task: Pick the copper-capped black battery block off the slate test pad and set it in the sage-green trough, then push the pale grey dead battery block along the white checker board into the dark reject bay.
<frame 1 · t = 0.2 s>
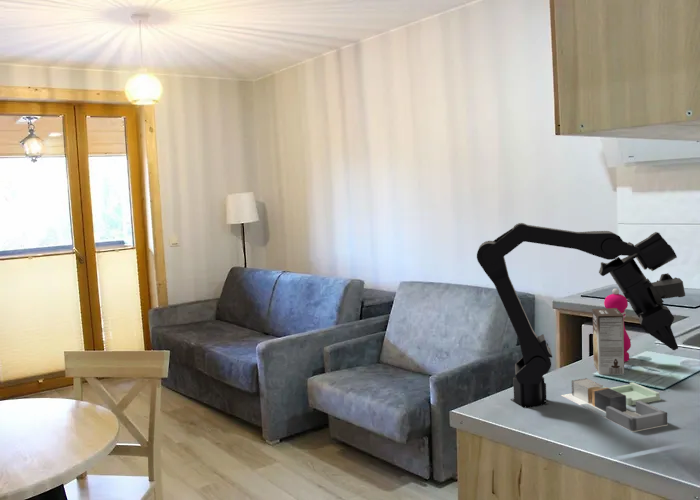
hand: (671, 342, 137), 14 cm above the counter, tool tilted 30°, fingers open, 9 cm apart
coffee box: (608, 372, 165), on the counter
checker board: (610, 411, 138), on the counter
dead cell: (587, 397, 146), point 1 cm above the counter, touching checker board
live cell: (609, 408, 138), point 1 cm above the counter, touching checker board
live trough: (630, 399, 145), on the counter
pepper mill: (616, 359, 176), on the counter
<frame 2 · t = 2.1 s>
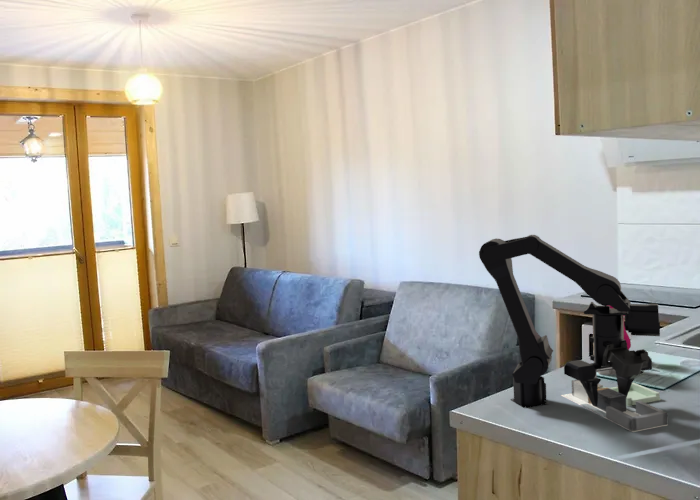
hand: (608, 403, 138), 2 cm above the counter, tool pointing down, fingers open, 7 cm apart
nothing on the counter moved.
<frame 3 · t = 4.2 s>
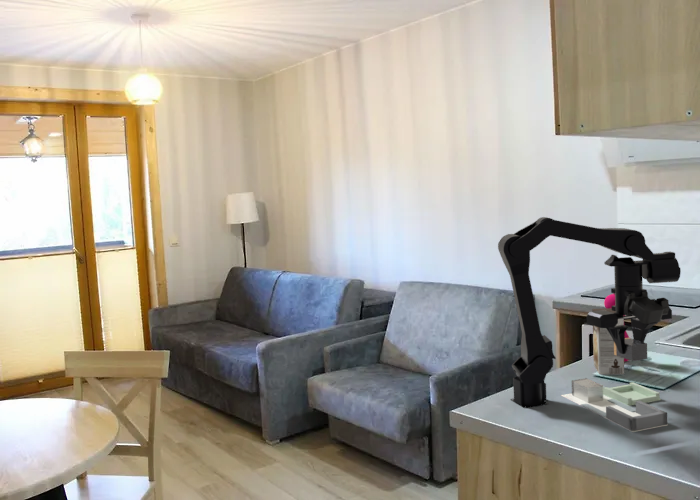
hand: (630, 352, 143), 11 cm above the counter, tool pointing down, fingers closed on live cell, 4 cm apart
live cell: (630, 356, 143), point 10 cm above the counter, touching gripper
everything else where it was.
when the fingers open (3 cm above the counter, at t = 5.9 s): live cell drops 1 cm, resting on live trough.
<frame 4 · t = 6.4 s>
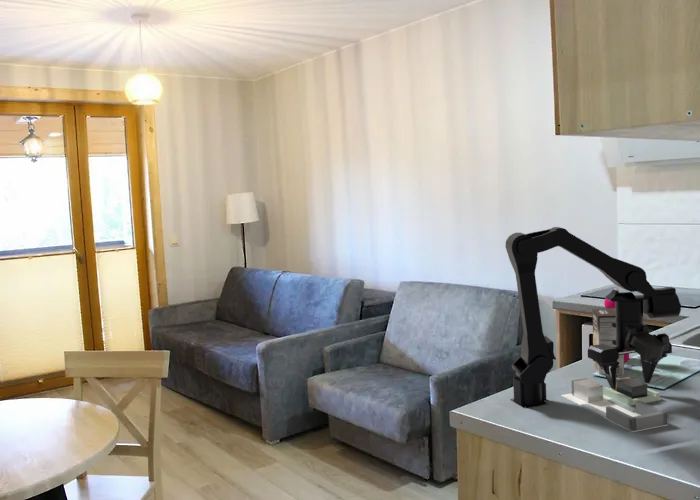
hand: (630, 386, 144), 3 cm above the counter, tool pointing down, fingers open, 9 cm apart
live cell: (630, 396, 145), point 1 cm above the counter, touching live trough
everything else where it was.
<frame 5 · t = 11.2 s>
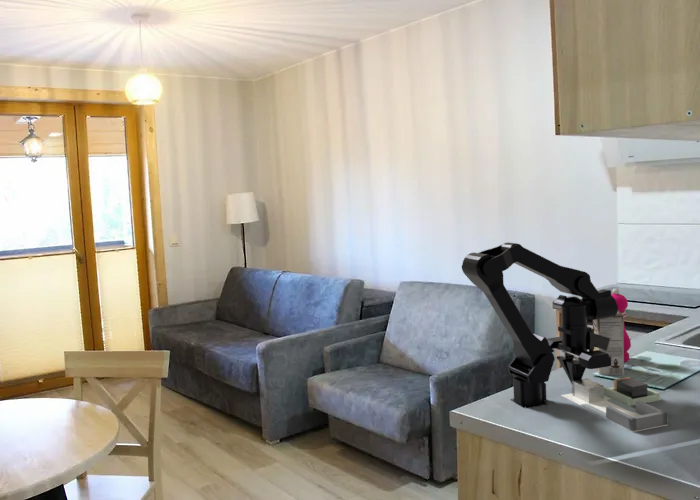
hand: (575, 387, 150), 2 cm above the counter, tool pointing down, fingers closed
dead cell: (588, 398, 145), point 1 cm above the counter, touching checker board, gripper
everything else where it was.
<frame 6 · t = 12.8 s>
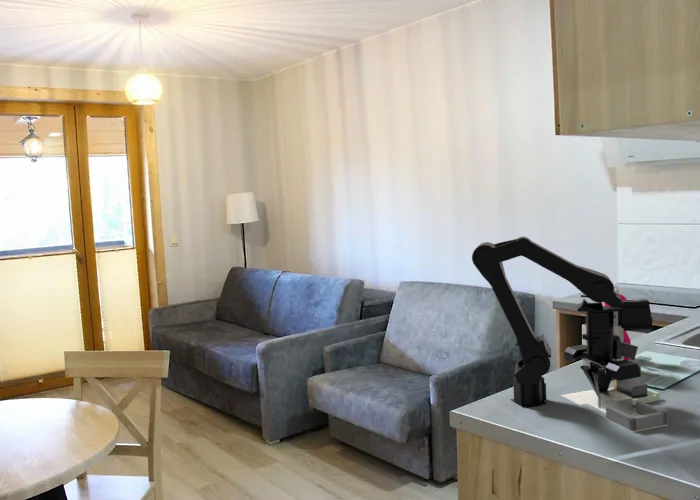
hand: (601, 398, 141), 2 cm above the counter, tool pointing down, fingers closed
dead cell: (615, 410, 137), point 1 cm above the counter, touching gripper
everything else where it was.
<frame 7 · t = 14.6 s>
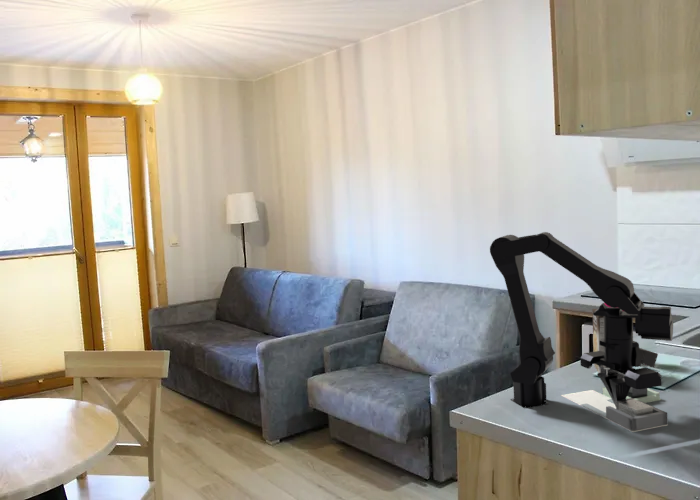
hand: (619, 407, 135), 2 cm above the counter, tool pointing down, fingers closed
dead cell: (634, 420, 131), point 1 cm above the counter, touching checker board, gripper
everything else where it was.
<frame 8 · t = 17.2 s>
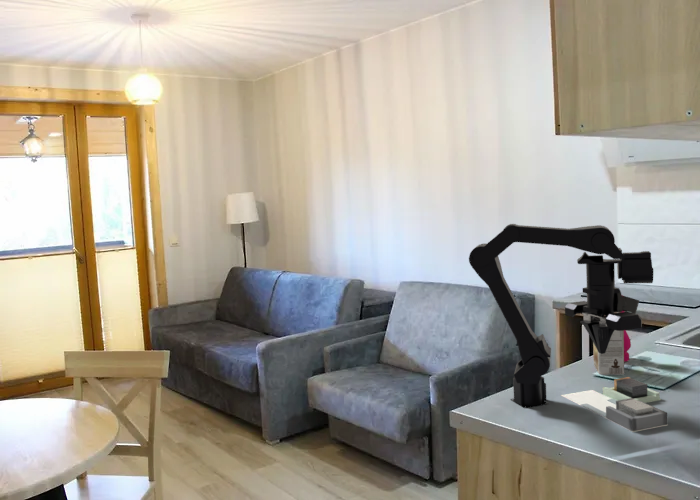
hand: (602, 353, 139), 12 cm above the counter, tool pointing down, fingers closed
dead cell: (634, 420, 131), point 1 cm above the counter, touching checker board
everything else where it was.
at the end: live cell 0.1 cm off-centre on the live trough, point 0.6 cm above the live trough's base; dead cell 0.3 cm from the target spot, point 0.6 cm above the counter; the gripper is holding nothing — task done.
